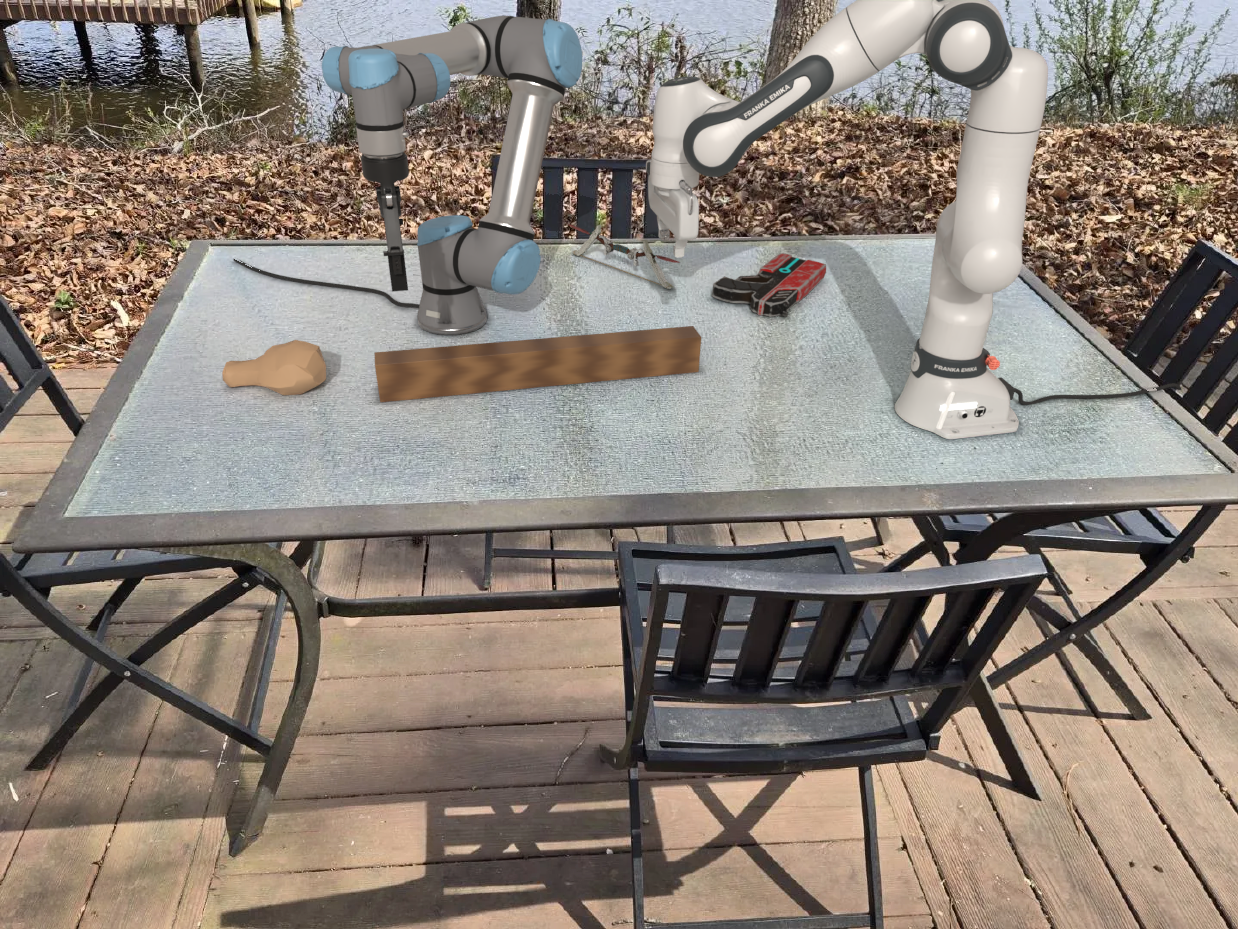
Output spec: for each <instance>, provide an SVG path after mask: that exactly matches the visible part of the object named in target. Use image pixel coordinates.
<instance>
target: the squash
mask: <svg viewBox="0 0 1238 929" xmlns="http://www.w3.org/2000/svg"><path fill="white" fill-rule="evenodd" d="M325 361H326V360H325V358H324V356H323V352H322V350H321V347H320V346H319V345H317V344H314V343H311V342H308V341H305V340H299V339H293V340H291V341H288V342H285V343H280V344H275V345H271V347H269V348H268V349H267V350H266V351H265V352H264V354H262V355H260V356H258V357H257V358H254V359H245V360H228V361H226V362H225V364H224V367H223V369H222V373H221V375H222V381H223V383H225V384H226V385H227V387H229V388H236V387H247V386H258V387H264V388H265V389H266V388H267V389H269V390H270V391H272V392H275V393H277V394H280V395H282V396H292V395H293V396H296V395H303V394H304V393H307V392H308V391H311V390H312V389H314V388H316V387H318V386H320V385H321V384H322V383H323V382H325V381H326V380H327V365H326V362H325Z"/></svg>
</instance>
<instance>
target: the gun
mask: <svg viewBox="0 0 1238 929" xmlns="http://www.w3.org/2000/svg"><path fill="white" fill-rule="evenodd" d="M826 273H827V264H826V263H823V262H820V261H816V260H812V259H802V258H799V257H795V256H793V255H792V254H791V253H784V252H780V253H778V254H777V255H775V256H774V257H773V258H771V259H770V260H768V261H767V262H766V263H765V264H763V265H762V266H761V267H760V269H759V271H758V273H757V274H756V275H753V274H752V275H751V274H750V275H740V276H738V277H737V278H735V279H734V278H731V277H727V276H722V277H720V279H717V281H715V282H713V283H712V291H711V297H713V298H714V299H716V300H719V301H723V302H727V303H730V304H750V305H749V308H750V310H751V312H753V313H755V314H757V315H758V316H760V317H761V316H765V317H770V318H771V317H777V316H780V317H784V318H787V317H788V315H789V311H788V310H790V309H791V308H792V307H793V306H794V305H795V304H798V303H799V302H801V301H802V300H803V299H804V298H805V297H807V296H808V295H809V294H810V293H811V292H812V291H813V290H814V289H815V287H817V285H818V284H820V283H821V282H822V280H823V279H824V278H825V276H826Z"/></svg>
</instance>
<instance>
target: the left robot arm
mask: <svg viewBox="0 0 1238 929" xmlns="http://www.w3.org/2000/svg"><path fill="white" fill-rule="evenodd" d="M582 71H583V50H582V45H581V41H580V38H579V35H578V34H577V32H576V30H575V29H574V27H573V26H572V25H571V24H569V23H567V22H564V21H558V20H554V19H553V18H547V19H543V18H533V17H523V16H514V15H496V16H491V17H486V18H480V19H476V20H471V21H467V22H461V23H458V24H456V25H454V26H453V27H452V28H451V29H450V31H444V32H439V33H438V32H437V33H432V34H427V35H421V36H415V37H410V38H404V39H399V40H393V41H387V42H383V43H377V44H372V45H365V46H359V47H350V46H347V45H343V46H336V45H335V46H331V47H330V48H329V49H327V50H326V52H325V53H324V55H323V57H322V60H321V72H322V77H323V80H324V82H325V84H326V85H327V87H328V88H329V89H331V90H332V91H333V92H337V93H339V94H344V95H345V96H351V97H352V104H353V112H354V117H355V124H356V126H355V131H356V136H357V144H358V151H359V152H360V153H361V156H360V164H361V170H362V171H361V172H362V176H363V178H364V179H365V180H367V181H368V182H372V183H375V182H376V183H378V184H379V186H375V194H376V200H377V201H376V202H377V203H378V205H379V206H378V207H379V214H380V218H383V222H384V232H385V239H386V247H387V250H383V252H382V253H383V257H387V263H388V270H389V277H390V285H391V292H404V291H409V285H408V277H407V268H406V258H405V249H404V247H403V239H402V238H403V237H402V230H401V226H403V225H404V218H402V217H401V216H402V207H401V201H402V195H401V188H400V185H395V183H396V182H400V181H404V180H405V179H407V178H408V177H409V176H410V169H409V159H408V155H407V154H406V150H407V144H406V138H409V136H410V135H409V134H410V133H409V132H408V131H407V130H405V128H404V127H405V126H404V125H405V123H404V113H403V112H404V111H405V110H408V109H410V108H414V107H418V106H422V105H426V104H432V103H434V102H436V101H438V100H441V99H443V98H445V96H447V94H448V92H449V90H450V87H451V76H454V75H457V74H462V75H464V76H466V77H472V76H477V75H478V76H479V75H481V76H482V75H483V76H489V77H490V76H491V77H497V78H502V79H507V80H506V84H507V86H508V88H509V90H510V91H511V94H512V95H511V101H510V106H509V110H508V111H509V112H508V116H507V119H506V125H505V131H504V135H503V140H502V146H501V150H500V155H499V160H498V165H497V170H496V175H495V180H494V184H493V190H492V193H491V194H492V195H491V199H490V204H489V208H488V209H489V210H488V212H487V214H486V215H484V216H483V217H481V218H480V219H479V221H478V225H477V228H473V225H474V223H473V220H472V219H471V218H470V217H469V216H467V215H461V214H454V215H443V216H438V217H434V218H430V219H428V220H425V221H424V222H422V223H421V224H419V226H418V227H417V230H416V233H417V242H416V245H417V252H418V260H419V267H420V268H419V269H420V275H421V276H420V278H421V284H422V292H421V297H420V302H419V304H418V303H413V302H412V303H411V302H400V301H398V300H397V299H396V300H395V299H394V298H393V297H392V296H391V295H390V294H388V293H387V292H385V291H382V290H381V289H380V290H379V289H377V288H371V287H363V286H355V285H349V284H343V283H342V284H341V283H333V282H332V283H331V282H325V281H318V280H311V279H304V278H297V277H292V276H286V275H281V274H277V273H274V272H269V271H267V270H263V269H261V268H257V267H256V266H253V265H250V266H251V267H252V266H253V267H252V268H251V267H249V266H247V265H245V264H247V263H246V262H244V261H242V260H240V261H241V262H243V263H241V262H239V261H237V260H235V259H234V258H233V259H232V260H233V262H235V263H237V264H238V265H240V266H242V267H244V268H246V269H248V270H251V271H253V272H255V273H258V274H261V275H263V276H266V277H271V278H274V279H279V280H282V281H289V282H294V283H299V284H306V285H307V284H308V285H312V286H313V285H315V286H321V287H328V288H335V289H336V288H337V289H343V290H344V289H345V290H352V291H358V292H359V291H360V292H366V293H372V294H376V295H380V296H383V297H385V298H386V299H387V300H388V301H389V302H390V303H392V304H393V305H395V306H398V307H402V308H412V309H413V308H414V309H418V310H417V316H416V318H417V325H418V326H419V328H420V329H421V330H423V331H424V332H427V333H430V334H433V335H440V336H459V335H465V334H469V333H473V332H476V331H477V330H480V329H481V328H483V327H484V326H485V325H486V323H487V320H488V316H487V310H486V306H485V304H484V302H483V299H482V298H481V295H480V293H479V291H478V288H481V289H485V290H488V291H493V292H495V293H498V294H507V295H514V296H515V295H519V294H522V293H524V292H525V291H527V289H528V288H530V287H531V285H532V284H533V282H534V281H535V279H536V278H537V276H538V273H539V270H540V267H541V266H540V265H541V259H542V256H541V249H540V246H539V245H538V244H537V243H536V241H534V238H535V231H534V230H533V228H532V226H531V217H532V213H533V209H534V203H535V198H536V194H537V190H538V189H537V188H538V184H539V181H540V175H541V170H542V165H543V160H544V156H545V152H546V146H547V141H548V137H549V132H550V128H551V122H552V118H553V114H554V108H555V106H556V105H557V104H558V103H560V102H562V101H563V100H564V98H565V92H566V89H570V88H572V87H574V86H576V84H577V83H578V82H579V80H580V78H581V74H582ZM400 217H401V218H400ZM259 270H260V271H259Z"/></svg>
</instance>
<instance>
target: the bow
mask: <svg viewBox="0 0 1238 929" xmlns="http://www.w3.org/2000/svg"><path fill="white" fill-rule="evenodd" d="M567 225H568V226H569V227H571V228H573V229H575V230H577V231H579V232H581V233H583V234H585V235H586V234H587V235H589V238H588V239H587V240H586V241H584V243H583V244H581V246H580V248H578V250H577V249H575V250H572V252H571V253H572V254H573V255H574V256H577V257H578V256H579V257H583V258H585V259H588V260H591V261H594V262H596V263H599V264H601V265H605V266H607V267H610V268H613V269H615V270H619V271H621V272H623V273H626V274H629V275H632V276H635V277H637V278H640V279H642V280H645V281H648V282H651V283H654V284H657V285H659V286H662V287H663V288H665V289H667V290H671V289H673V288H674V285H673V284H671V283H670V282H669V281H668V280H667V279H666V276H665V274H664V272H663V270H662V268H661V267H660V265H659V263H658V262H657V260H656V259H659V260H662V261H665V262H669V263H676V264H681V261H679V260H677V259H674V258H670V257H667V256H663V255H660V254H654V252H653V249H652V248H651V246H650V244H649V241H648V240H647V239H645V240H643V241H642V242H643V243H642V244H643V245H642V247H643V248H637V247H636V246H635V247H633V248H629V247H628V246H625V245H622V244H619V243H614V239H608V238H607V237H606V236H604V235H602V234H601V233H602V225H601V224H598V225H596V227H595V229H594V230H593V231H592V232H589V231H588V230H586V229H584V228H581V227H580V226H577V225H574V224H570V223H567ZM597 241H598V242H600V244H602V245H603V246H604V250H603V256H608V255H609V254H610V253H614V251H615V252H619V253H621V254H624V255H627V259H628V260H630V261H633V262H632V263H633V267H638V266H640V264H639V262H640V261H639V258H640V257H641V258H642V257H646V259H647V261H648V262H649V264H650V266H651V268H652V271H653V273H654V274H655V276H656V278H657V280H658V282H659V283H658V282H656V281H653V280H650V279H647V278H645V277H643V276H642V277H641V276H640V275H637V274H633V273H631V272H628V271H626V270H623V269H620V268H618V267H615V266H612V265H609V264H607V263H603V262H601V261H598V260H595V259H593V258H590V257H587V256H584V254H585V253H587V251H588V250H589V249H590V248H591V247H592V245H593V244H595V243H596V242H597Z"/></svg>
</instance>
